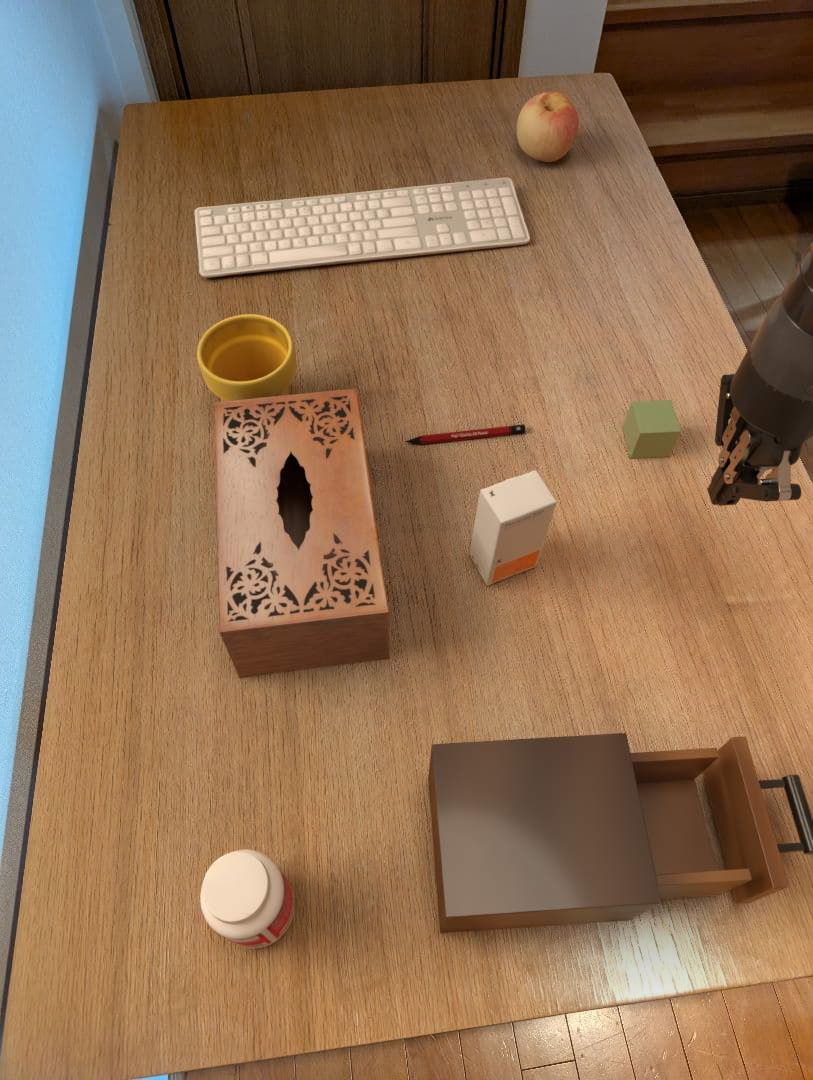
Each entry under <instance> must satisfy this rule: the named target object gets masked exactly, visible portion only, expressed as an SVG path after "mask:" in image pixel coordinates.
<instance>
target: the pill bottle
mask: <svg viewBox="0 0 813 1080" xmlns="http://www.w3.org/2000/svg"><path fill="white" fill-rule="evenodd" d="M199 901H200V908H201V913H202V915H203V917H204V920H205V921H206V923H207V924H208V926H209V927H210V928H211V929H212V930H214V932H216V933H217V934H218V935H220V936H222V937H224V938H225V939H227V940H228V941H231V942H232V943H234V944H236V945H237V946H240V947H242V948H245V949H261V948H266V947H268V946H270V945H272V944H274V943H275V942H277V941H278V940H279V939H280V938H282V936H283V935H285V933H286V932H287V931H288V930H289V927H290V926H291V923H292V921H293V918H294V915H295V909H296V907H295V906H296V898H295V893H294V890H293V888H292V885H291V883H290V882H289V879H287V877H286V876H285V874H284V873H283V872H282V870H281V869H280V868H279V866H278V864H276V862H275V861H274V860H273V859H272V858H270V857H269V856H268V855H266V854H265V853H263V852H261V851H258V850H254V849H247V848H246V849H244V848H243V849H238V850H234V851H231V852H228V853H226V854H223V855H221V856H220V857H218V858H217V859H216V860H215V861H214V862H212V864H211V865H210V867H209V868H208V869H207V871H206V873H205V875H204V878H203V882H202V884H201V889H200V897H199Z"/></svg>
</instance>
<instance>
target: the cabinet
mask: <svg viewBox="0 0 813 1080" xmlns="http://www.w3.org/2000/svg"><path fill="white" fill-rule="evenodd" d="M629 745H630V744H629V740H628V735H627V733H626V732H617V733H600V734H584V735H568V736H567V735H566V736H551V737H549V736H547V737H536V738H535V737H534V738H517V739H516V738H515V739H498V740H481V741H466V742H464V741H463V742H450V743H449V742H447V743H433V744H431V749H430V758H429V767H428V774H427V775H428V777H427V780H428V781H427V782H428V794H429V806H430V809H429V810H430V819H431V820H430V821H431V834H432V835H431V836H432V847H433V861H434V874H435V888H436V900H437V901H436V902H437V911H438V913H437V914H438V926H439V934H451V933H467V932H479V931H481V932H482V931H496V930H508V929H509V930H510V929H511V930H512V929H524V928H541V927H553V926H554V927H555V926H567V925H583V924H597V923H599V924H601V923H611V922H612V923H613V922H626V921H627V922H628V921H631V920H633V919H635V918H636V917H638V916H641V915H642V914H644V913H645V912H647V911H650V910H651V909H653V908H655V907H657V906H659V905H661V904H662V899H661V898H660V893H659V888H658V883H657V879H656V874H655V869H654V864H653V859H652V855H651V850H650V845H649V840H648V835H647V831H646V826H645V821H644V816H643V811H642V807H641V802H640V797H639V792H638V787H637V783H636V778H635V773H634V768H633V764H632V759H631V754H630V753H631V750H630V749H631V748H630V746H629Z"/></svg>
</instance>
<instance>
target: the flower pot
mask: <svg viewBox="0 0 813 1080" xmlns="http://www.w3.org/2000/svg"><path fill="white" fill-rule="evenodd" d="M196 359H197V363H198V366H199V370H200V372H201V375H202V378H203V380H204V383H205V384H206V387H207V388H208V390H209V391H210V392H211V393H213V394H214V395H215V396H217V397H218V398H220V400H221V402H223V401H233V400H243V399H253V398H264V397H274V396H284V395H290V390H291V383H292V381H293V380H294V376H295V375H296V370H297V357H296V350H295V344H294V341H293V337H292V335H291V334H290V332H289V330H288V329H287V327H285V325H283V324H282V323H281V322H280V321H277V320H276V319H273V318H272V317H269V316H266V315H261V314H255V313H245V314H244V313H243V314H238V315H234V316H229V317H227V318H224V319H222V320H220V321H218V322H216V323H215V324H214V325H212V326H211V327H210V328H208V329H207V330H206V332H204V333H203V334H202V336H201V337H200V339H199V342H198V345H197V350H196Z"/></svg>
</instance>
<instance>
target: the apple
mask: <svg viewBox="0 0 813 1080" xmlns="http://www.w3.org/2000/svg"><path fill="white" fill-rule="evenodd" d="M579 120H580V118H579V114H578V112H577V110H576V108H575V105H574V104H573V103H572V101H571V99H570V98H569V97H568V96H567V95H565V94H564V93H562V92H559V91H548V92H542V93H538V94H536V95H534V96H532V97H531V98H530V99H528V100H527V101H526V102H525V103H524V105H523V106H522V108H521V109H520V112H519V115H518V117H517V122H516V139H517V142H518V145H519V147H520V149H521V150H522V151H523V152H524V153H525V154H526V155H527V156H529V157H530V158H532V159H534V160H536V161H539V162H542V163H553V162H556V161H558V160H560V159H562V158H563V157H564V156H565V155H566V154H567V153H568V152H569V151H570V150H571V148H572V147H573V145H574V143H575V141H576V138H577V136H578V133H579V132H578V131H579V127H580V121H579Z"/></svg>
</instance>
